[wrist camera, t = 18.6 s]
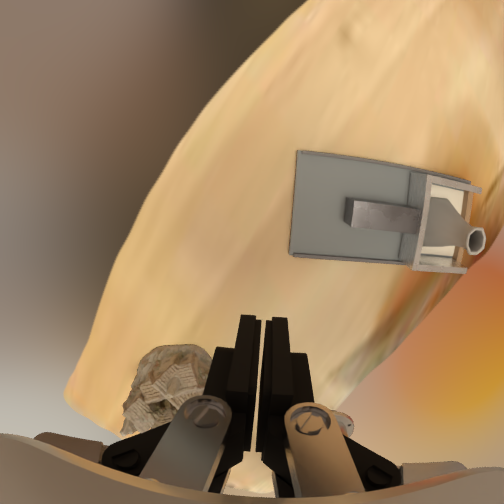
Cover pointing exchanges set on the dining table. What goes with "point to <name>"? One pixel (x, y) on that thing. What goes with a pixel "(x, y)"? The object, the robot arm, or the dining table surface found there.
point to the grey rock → (164, 385)
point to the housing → (407, 221)
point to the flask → (451, 228)
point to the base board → (364, 187)
